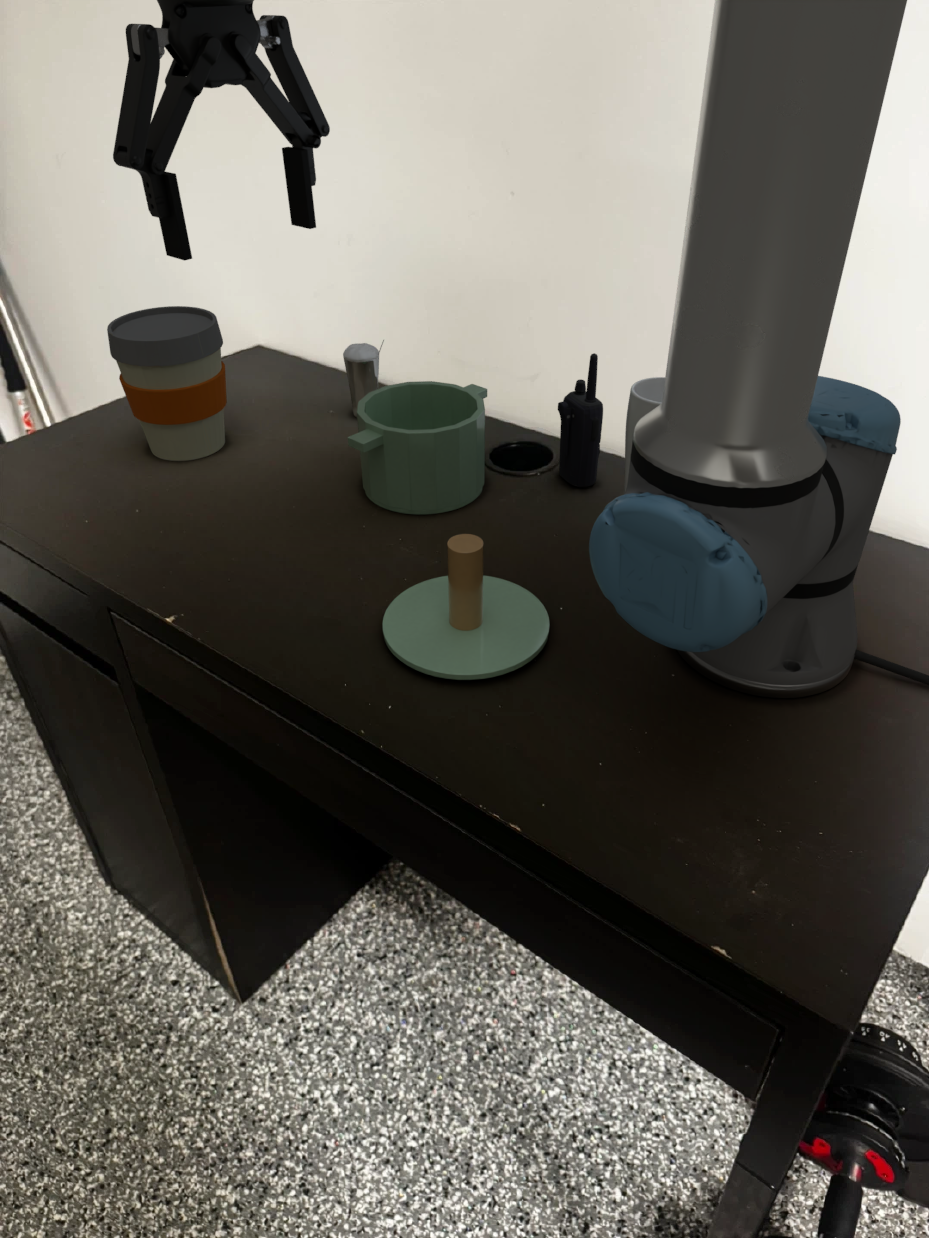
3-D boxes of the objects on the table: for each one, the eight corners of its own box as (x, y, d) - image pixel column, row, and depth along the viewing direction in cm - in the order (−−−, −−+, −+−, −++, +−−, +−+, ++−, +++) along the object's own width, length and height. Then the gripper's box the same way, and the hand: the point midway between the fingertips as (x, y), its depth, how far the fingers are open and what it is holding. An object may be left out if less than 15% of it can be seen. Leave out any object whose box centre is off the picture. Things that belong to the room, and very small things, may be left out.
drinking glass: (686, 543, 90) (709, 404, 81) (619, 544, 90) (635, 404, 81) (673, 510, 96) (694, 376, 87) (610, 510, 96) (624, 376, 87)
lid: (582, 627, 79) (590, 539, 73) (471, 711, 70) (471, 618, 65) (461, 566, 87) (460, 483, 81) (348, 635, 78) (339, 546, 73)
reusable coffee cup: (154, 422, 115) (127, 305, 106) (250, 423, 114) (231, 305, 105) (120, 467, 105) (86, 341, 96) (225, 468, 104) (201, 342, 95)
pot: (523, 474, 102) (526, 396, 97) (406, 538, 91) (401, 454, 86) (438, 440, 110) (436, 365, 104) (320, 495, 99) (311, 415, 93)
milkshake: (383, 422, 114) (378, 346, 108) (344, 419, 115) (336, 343, 109) (393, 408, 118) (388, 333, 112) (354, 405, 118) (348, 331, 112)
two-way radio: (602, 487, 100) (614, 356, 91) (567, 495, 98) (576, 363, 89) (577, 466, 104) (586, 340, 95) (543, 474, 102) (550, 346, 93)
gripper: (295, -57, 76) (323, 210, 89) (13, -56, 61) (95, 264, 74) (354, -60, 72) (375, 220, 84) (67, -59, 57) (144, 280, 70)
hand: (244, 241), depth 79 cm, fingers open, 13 cm apart
